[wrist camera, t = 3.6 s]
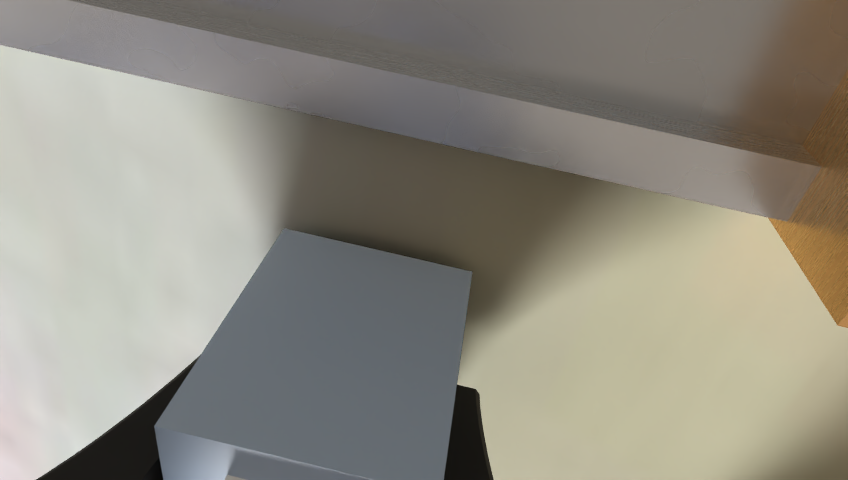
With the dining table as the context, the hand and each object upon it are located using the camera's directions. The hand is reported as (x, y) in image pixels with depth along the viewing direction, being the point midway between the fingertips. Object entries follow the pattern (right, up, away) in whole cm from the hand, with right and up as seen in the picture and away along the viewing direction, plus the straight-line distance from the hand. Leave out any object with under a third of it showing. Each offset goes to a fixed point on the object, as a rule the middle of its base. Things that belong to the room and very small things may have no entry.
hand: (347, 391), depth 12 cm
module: (0, +1, +1) cm, 2 cm away
